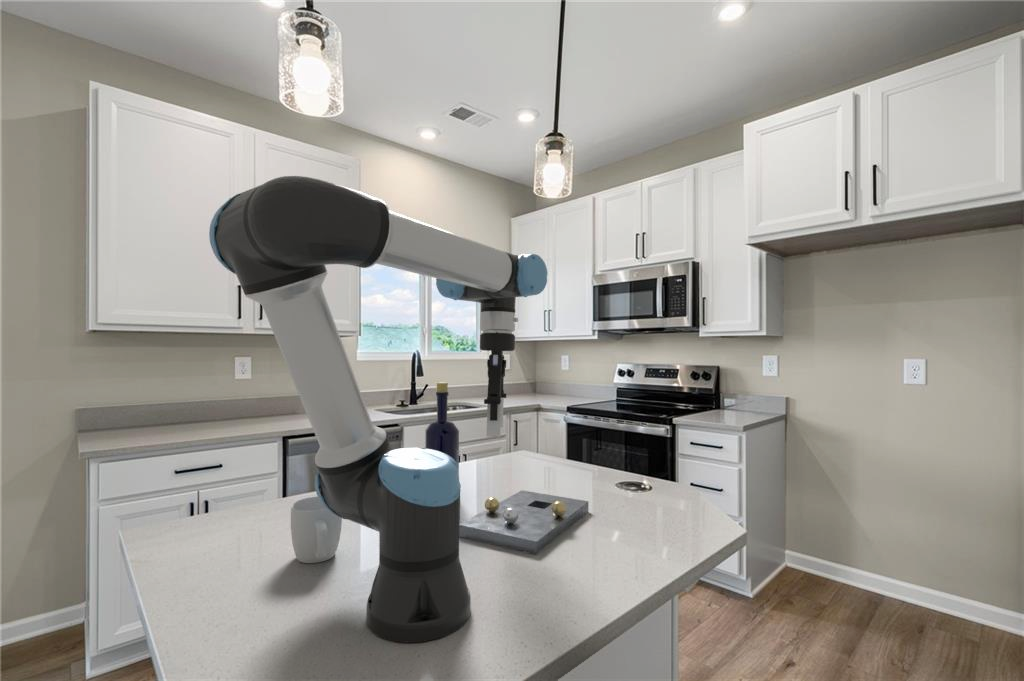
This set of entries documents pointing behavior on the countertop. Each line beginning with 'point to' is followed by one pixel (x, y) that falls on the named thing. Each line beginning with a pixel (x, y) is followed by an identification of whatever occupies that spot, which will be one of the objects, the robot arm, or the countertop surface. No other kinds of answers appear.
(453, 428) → the bottle
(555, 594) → the countertop surface
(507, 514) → the steel ball
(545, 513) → the plate
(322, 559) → the mug
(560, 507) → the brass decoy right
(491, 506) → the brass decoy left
